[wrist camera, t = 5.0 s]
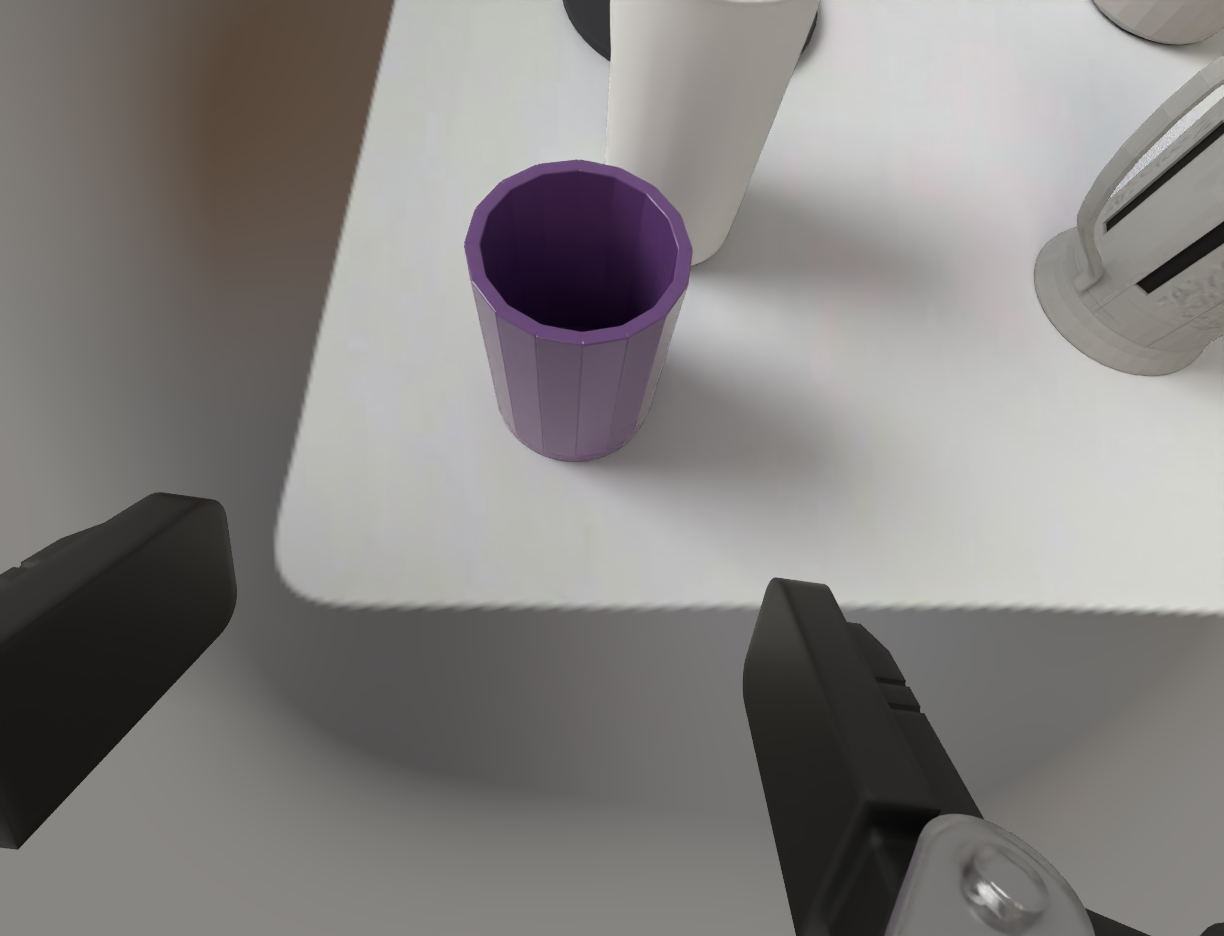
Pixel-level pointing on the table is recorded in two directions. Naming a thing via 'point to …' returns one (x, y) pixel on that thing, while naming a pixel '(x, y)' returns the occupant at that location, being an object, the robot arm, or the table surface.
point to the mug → (699, 99)
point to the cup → (576, 301)
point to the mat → (607, 23)
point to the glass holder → (1147, 246)
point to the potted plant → (1166, 18)
